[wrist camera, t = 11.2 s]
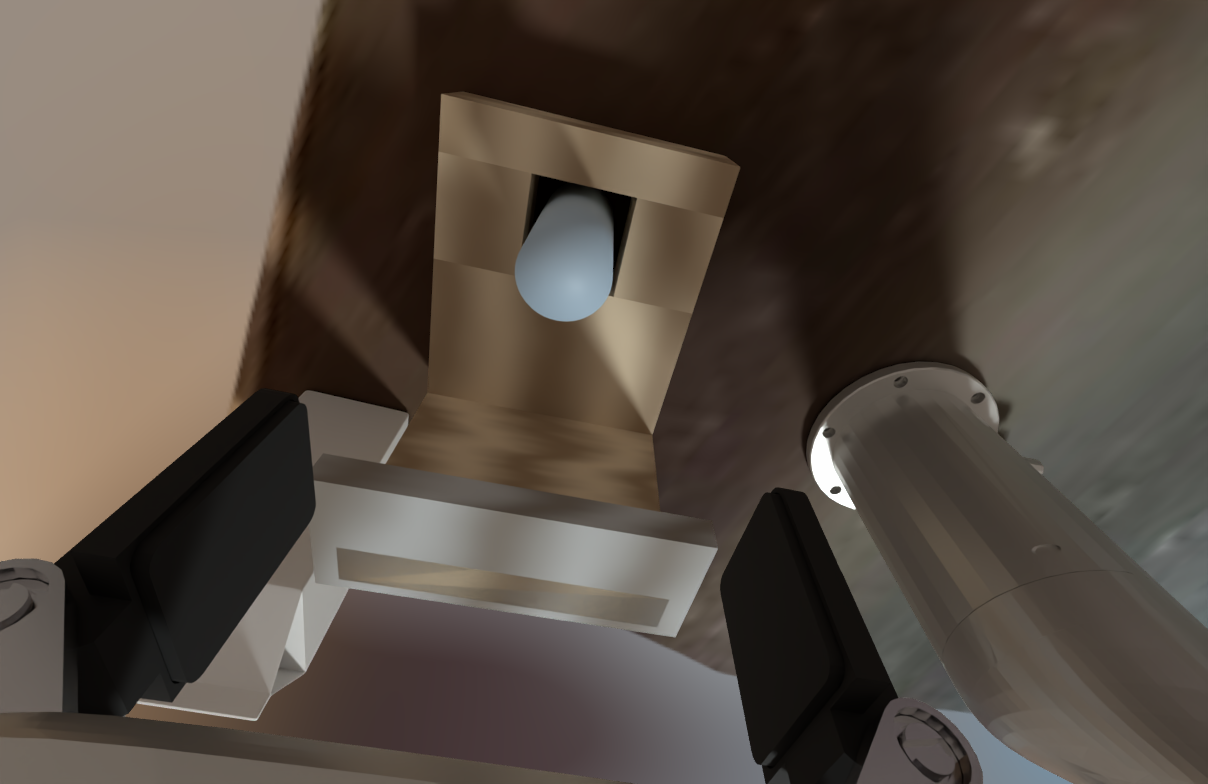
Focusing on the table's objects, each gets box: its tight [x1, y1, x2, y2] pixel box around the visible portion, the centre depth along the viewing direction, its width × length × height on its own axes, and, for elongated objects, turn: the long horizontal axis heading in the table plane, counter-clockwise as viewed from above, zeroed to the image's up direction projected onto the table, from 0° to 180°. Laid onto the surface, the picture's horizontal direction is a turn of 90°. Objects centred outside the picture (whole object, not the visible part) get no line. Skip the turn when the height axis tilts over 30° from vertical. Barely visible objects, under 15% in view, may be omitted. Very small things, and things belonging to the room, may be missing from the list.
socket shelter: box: [309, 92, 740, 637], centre depth 25 cm, size 16×18×16 cm
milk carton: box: [137, 390, 409, 721], centre depth 30 cm, size 7×7×19 cm
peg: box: [515, 183, 614, 321], centre depth 25 cm, size 4×4×10 cm
